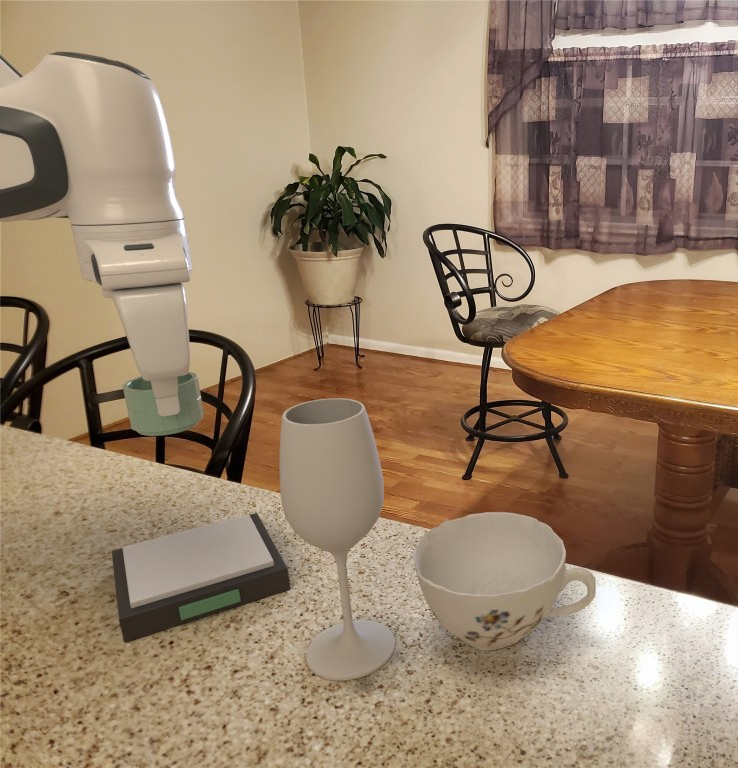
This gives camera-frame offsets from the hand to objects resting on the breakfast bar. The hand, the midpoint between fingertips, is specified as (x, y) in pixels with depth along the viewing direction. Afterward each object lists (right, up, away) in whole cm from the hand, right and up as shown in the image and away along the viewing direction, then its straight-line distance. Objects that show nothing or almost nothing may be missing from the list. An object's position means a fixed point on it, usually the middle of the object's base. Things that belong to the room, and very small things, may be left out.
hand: (164, 402), depth 65 cm
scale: (+3, -17, +2) cm, 18 cm away
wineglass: (+20, -20, -8) cm, 30 cm away
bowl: (0, -2, +1) cm, 2 cm away
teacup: (+32, -20, -6) cm, 38 cm away
